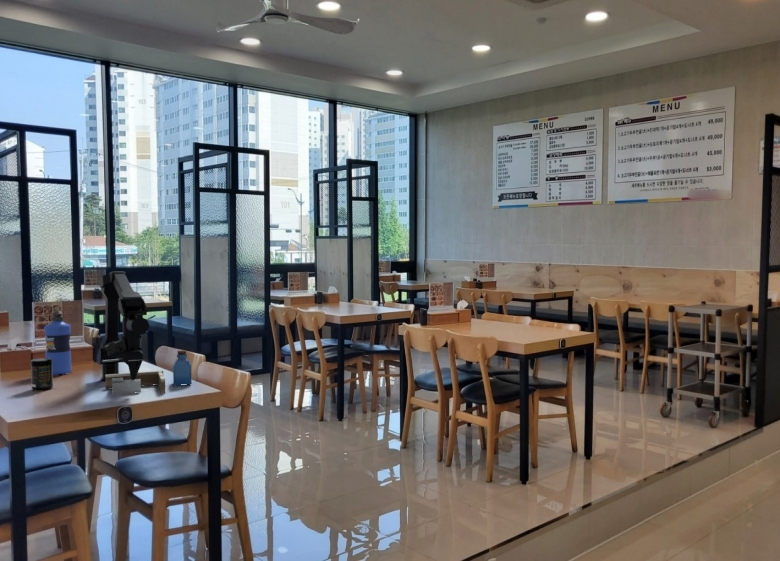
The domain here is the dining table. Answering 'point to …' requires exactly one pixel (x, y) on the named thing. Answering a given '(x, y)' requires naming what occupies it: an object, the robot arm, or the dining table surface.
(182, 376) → the blue corked bottle
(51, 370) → the supplement container
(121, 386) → the bracket
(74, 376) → the dining table surface
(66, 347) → the water bottle
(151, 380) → the tan l-shaped wall
